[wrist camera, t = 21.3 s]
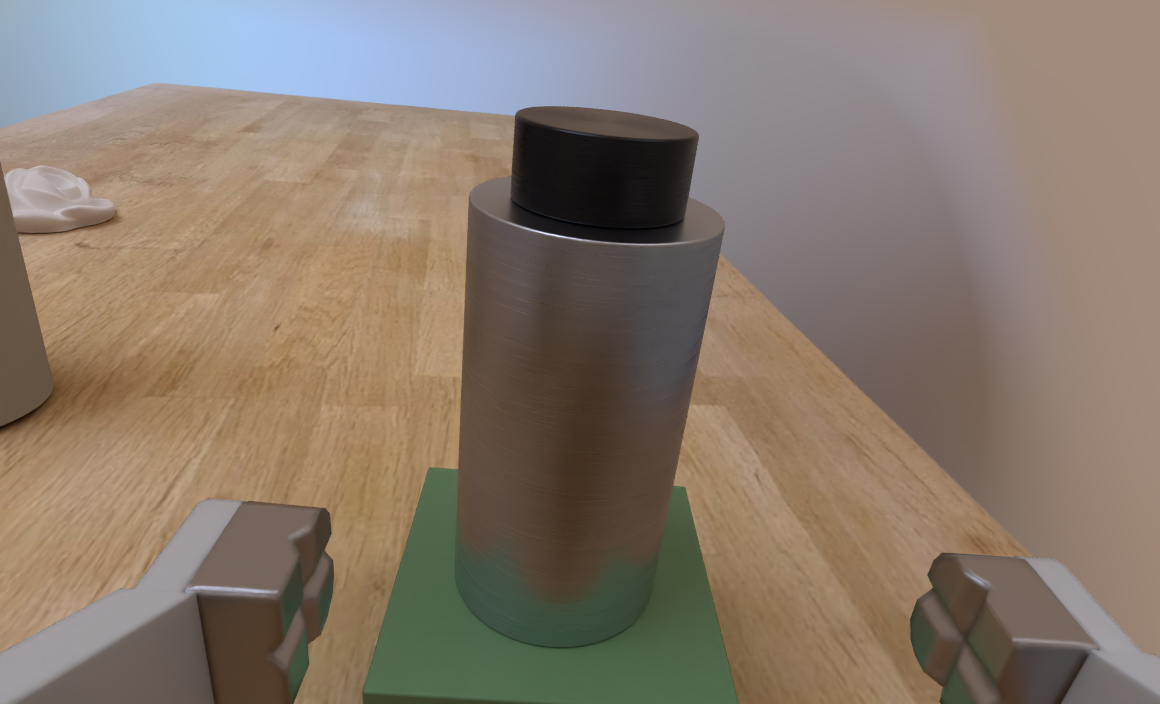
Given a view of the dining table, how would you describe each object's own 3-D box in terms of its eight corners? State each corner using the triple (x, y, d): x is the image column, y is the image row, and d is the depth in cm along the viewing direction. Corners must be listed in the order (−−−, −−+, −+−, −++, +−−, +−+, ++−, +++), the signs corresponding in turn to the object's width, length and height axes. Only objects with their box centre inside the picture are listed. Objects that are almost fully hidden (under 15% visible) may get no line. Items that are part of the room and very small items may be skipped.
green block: (665, 582, 30) (685, 486, 28) (707, 828, 21) (742, 714, 19) (426, 566, 30) (428, 466, 27) (366, 812, 21) (361, 692, 18)
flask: (643, 513, 26) (715, 117, 20) (663, 656, 20) (772, 162, 14) (468, 499, 26) (487, 91, 20) (438, 641, 20) (453, 127, 14)
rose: (-13, 152, 62) (117, 155, 66) (0, 202, 64) (125, 202, 68) (-53, 180, 54) (98, 182, 58) (-37, 236, 56) (108, 235, 60)
